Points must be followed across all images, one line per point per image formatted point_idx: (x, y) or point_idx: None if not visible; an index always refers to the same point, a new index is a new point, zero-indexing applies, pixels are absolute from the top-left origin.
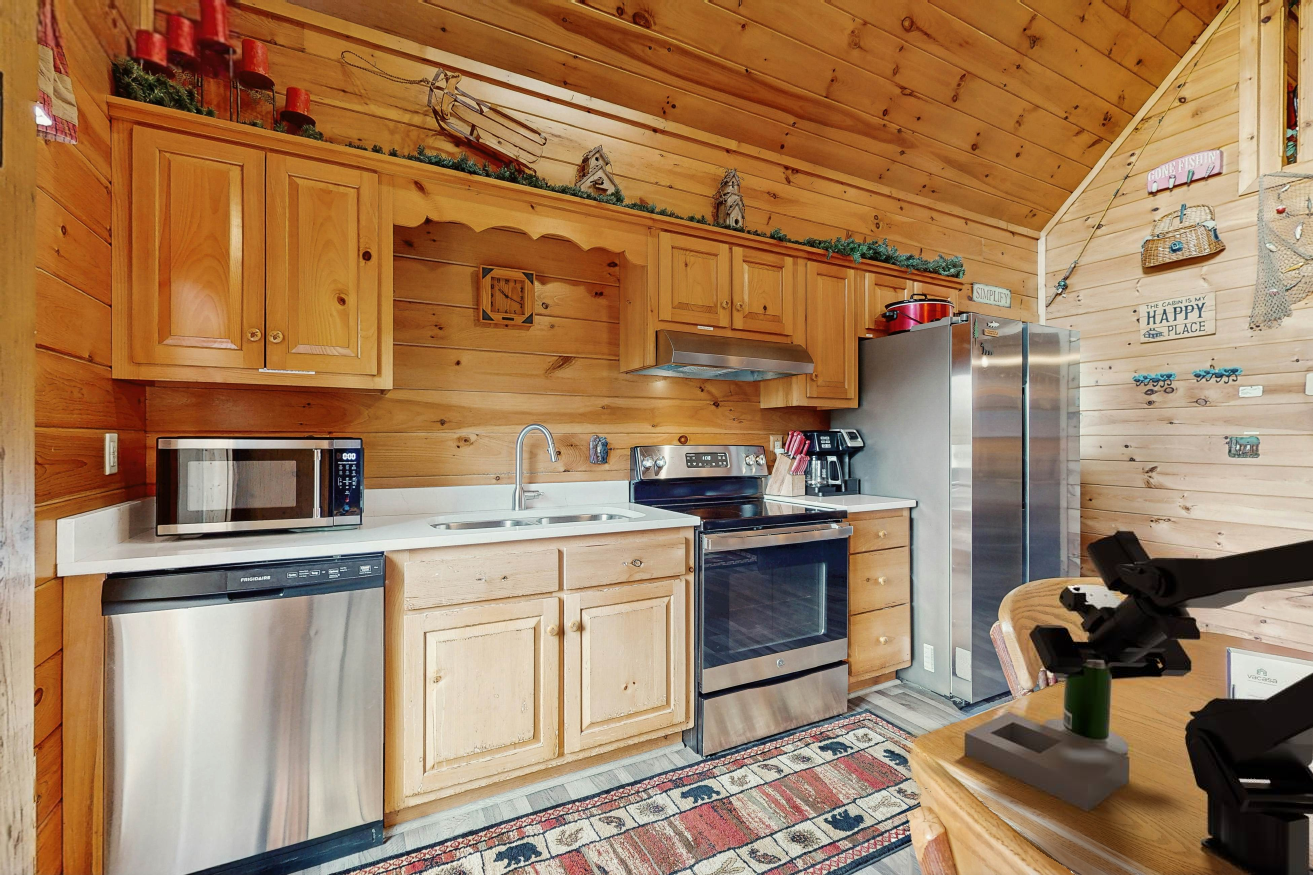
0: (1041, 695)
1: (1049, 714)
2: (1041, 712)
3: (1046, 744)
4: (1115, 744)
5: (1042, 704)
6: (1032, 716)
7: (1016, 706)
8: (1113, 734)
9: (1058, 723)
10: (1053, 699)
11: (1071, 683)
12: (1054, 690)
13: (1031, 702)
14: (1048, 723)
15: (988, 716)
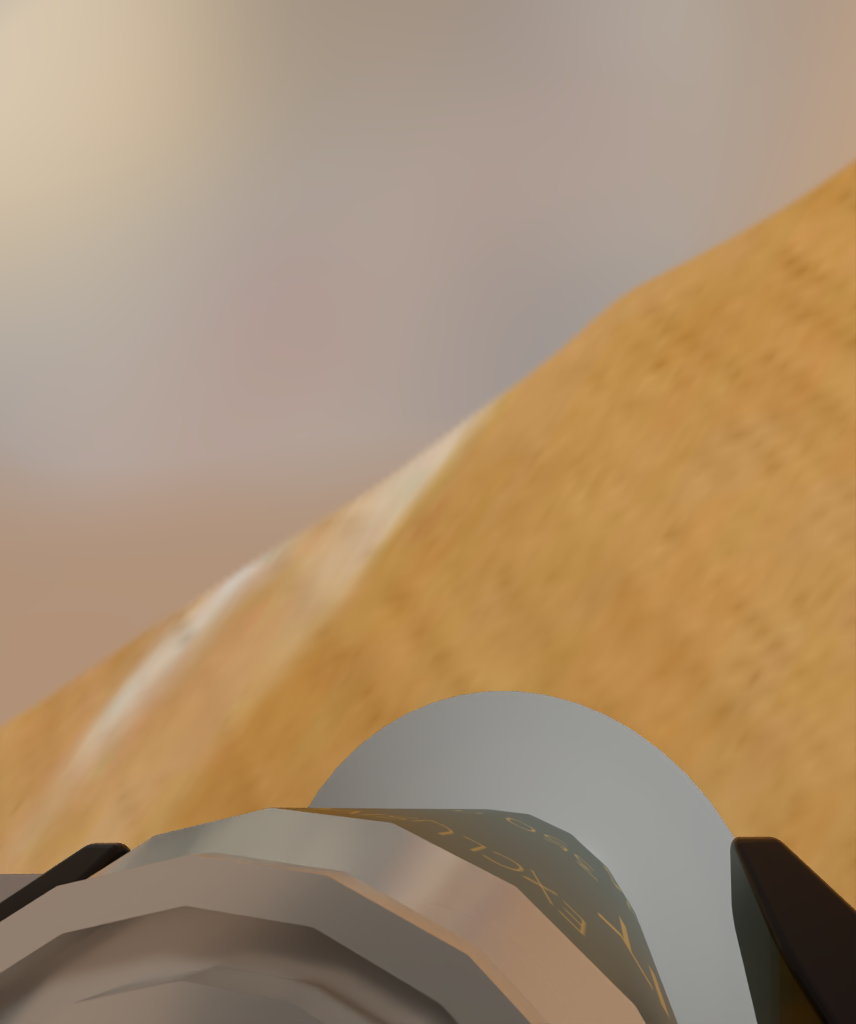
0: (595, 346)
1: (491, 589)
2: (457, 568)
3: None
4: None
5: (530, 460)
6: (367, 631)
7: (357, 511)
8: None
9: (428, 771)
10: (639, 383)
11: None
12: (714, 269)
13: (479, 445)
14: (359, 779)
15: (115, 663)
